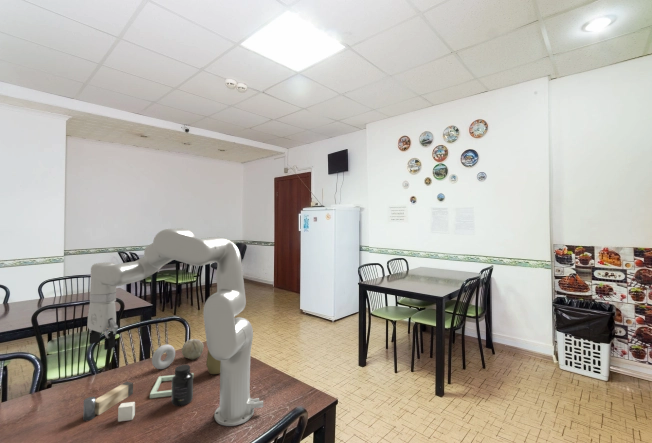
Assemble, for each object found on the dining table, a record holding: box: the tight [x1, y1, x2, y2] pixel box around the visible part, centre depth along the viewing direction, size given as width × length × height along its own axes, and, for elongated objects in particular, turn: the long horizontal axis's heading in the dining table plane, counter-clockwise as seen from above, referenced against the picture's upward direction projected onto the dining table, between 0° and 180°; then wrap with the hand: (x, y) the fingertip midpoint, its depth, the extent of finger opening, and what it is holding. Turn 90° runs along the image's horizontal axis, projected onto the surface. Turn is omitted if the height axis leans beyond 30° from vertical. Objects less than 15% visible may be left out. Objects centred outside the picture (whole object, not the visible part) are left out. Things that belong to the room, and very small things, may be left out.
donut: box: [151, 343, 176, 370], centre depth 133 cm, size 10×3×10 cm, turn 149°
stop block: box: [117, 401, 136, 422], centre depth 100 cm, size 4×2×4 cm, turn 106°
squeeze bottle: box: [206, 349, 221, 375], centre depth 132 cm, size 8×8×18 cm
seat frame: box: [149, 372, 195, 399], centre depth 119 cm, size 13×13×2 cm
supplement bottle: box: [171, 364, 194, 407], centre depth 110 cm, size 7×7×12 cm
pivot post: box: [82, 396, 96, 422], centre depth 100 cm, size 3×3×6 cm
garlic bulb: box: [181, 338, 204, 361], centre depth 144 cm, size 9×8×10 cm
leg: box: [95, 381, 134, 416], centre depth 108 cm, size 13×3×4 cm, turn 166°
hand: (102, 345), depth 111 cm, fingers open, 9 cm apart
